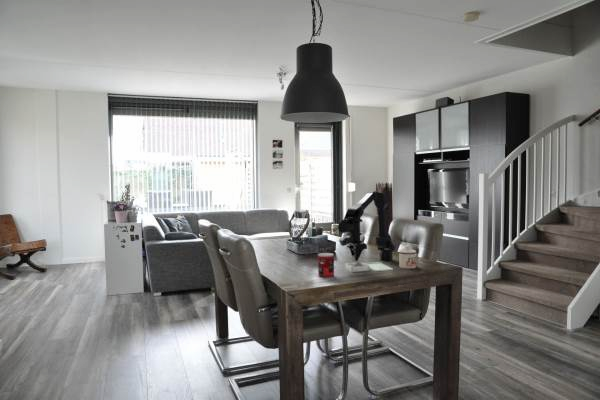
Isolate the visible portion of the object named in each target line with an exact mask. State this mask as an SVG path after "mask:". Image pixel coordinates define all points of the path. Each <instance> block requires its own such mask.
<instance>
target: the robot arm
mask: <svg viewBox="0 0 600 400" xmlns="http://www.w3.org/2000/svg"><path fill="white" fill-rule="evenodd" d="M372 202H374V206H375V208H377V220H378V231H379V232H378V235H377V236H376V237H375V241H376V246H377V250H378V251H380V252H379V260H380V261H382V262H391V261H394V258H393V252H395V250H396V246H395V244H394V243H393V241H392V237H391V235H390V233H389V229H388V225H389V224H388V214H387V210H388V209H387V208H388V206H389V203H390V196H389V194H388V193H386V192H379V191H377V190H369V191H368V192H367V193H366V194H365V195H364V196H363V197H362V198H361V199H360V200H359V201H358V202H357V203H355V204H354V205H351V206H349V207H348V208H347V210H346V212H345V215H344V218H343V219H341V220H340V223H339V224H338V225H337V227H338V228H337V229H338V231H339V233H342V234H345V233H346V234H347V235H346V236H343V237H340V238H339V239H338V242H339V243H340V246H341V247H344V246H346V248H348V249H349V251H350V254H351V257H352V256H353V255H355V260H356V261H358V262H359V260H360V256H361V254H362V252H363V250H367V249H368V245H367V243H364V242H363V241H362V240H361V236H363V235H362V232H361V223H362V222H363V219H361V217H362V216H363V215H364V213H365V209H367V207H368V206H370V204H372ZM358 259H359V260H358Z"/></svg>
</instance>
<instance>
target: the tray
mask: <svg viewBox="0 0 600 400" xmlns="http://www.w3.org/2000/svg"><path fill="white" fill-rule="evenodd" d="M364 263H365V264H367V265H369V266H370V270H372V271H374V272H386V271H387V272H388V271H394V267H393V268H392V267H390V266H388V265H386V264H384V263H382V262H380V261H379V262H378V261H376V262H375V261H374V262H364Z"/></svg>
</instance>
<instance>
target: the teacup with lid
mask: <svg viewBox="0 0 600 400" xmlns="http://www.w3.org/2000/svg"><path fill="white" fill-rule="evenodd" d="M398 255H399V257H398V258H399V259H398V260H399V268H401V269H415V268H417V262H418V260H419V254H418V253H417V251H416V250H415V249H413V248H411V247H410V246H409V245H406V246H405V247H403V249H400V250H399V251H398Z"/></svg>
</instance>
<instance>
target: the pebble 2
mask: <svg viewBox="0 0 600 400" xmlns="http://www.w3.org/2000/svg"><path fill="white" fill-rule="evenodd" d="M354 263H355V265H354V266H355V267H358V266H362V264H361V263H360V262H359V261H358V262H354Z"/></svg>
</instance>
